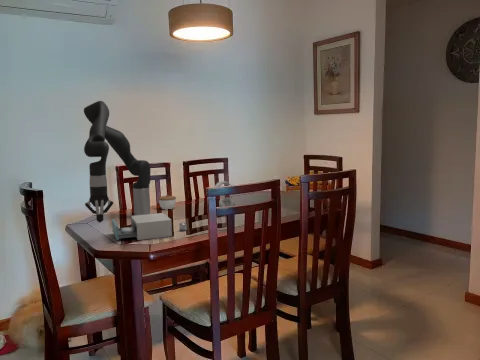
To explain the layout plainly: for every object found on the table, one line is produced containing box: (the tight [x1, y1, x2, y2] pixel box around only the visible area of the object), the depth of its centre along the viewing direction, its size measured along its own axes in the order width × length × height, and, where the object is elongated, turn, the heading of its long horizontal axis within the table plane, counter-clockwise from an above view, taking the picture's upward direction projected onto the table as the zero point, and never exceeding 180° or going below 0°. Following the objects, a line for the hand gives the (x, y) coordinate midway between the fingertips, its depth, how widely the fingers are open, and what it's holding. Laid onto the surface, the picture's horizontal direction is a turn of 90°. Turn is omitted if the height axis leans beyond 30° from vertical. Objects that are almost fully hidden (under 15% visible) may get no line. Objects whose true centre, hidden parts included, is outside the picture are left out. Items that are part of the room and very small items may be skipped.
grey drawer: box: [111, 218, 137, 241], centre depth 193 cm, size 18×16×6 cm
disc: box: [121, 226, 135, 234], centre depth 193 cm, size 6×6×2 cm
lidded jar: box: [158, 194, 177, 211], centre depth 259 cm, size 11×11×9 cm
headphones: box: [214, 180, 236, 207], centre depth 240 cm, size 19×9×20 cm, turn 145°
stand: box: [178, 222, 188, 232], centre depth 204 cm, size 4×4×4 cm
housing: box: [130, 212, 173, 241], centre depth 197 cm, size 18×16×8 cm
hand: (100, 222), depth 187 cm, fingers closed
